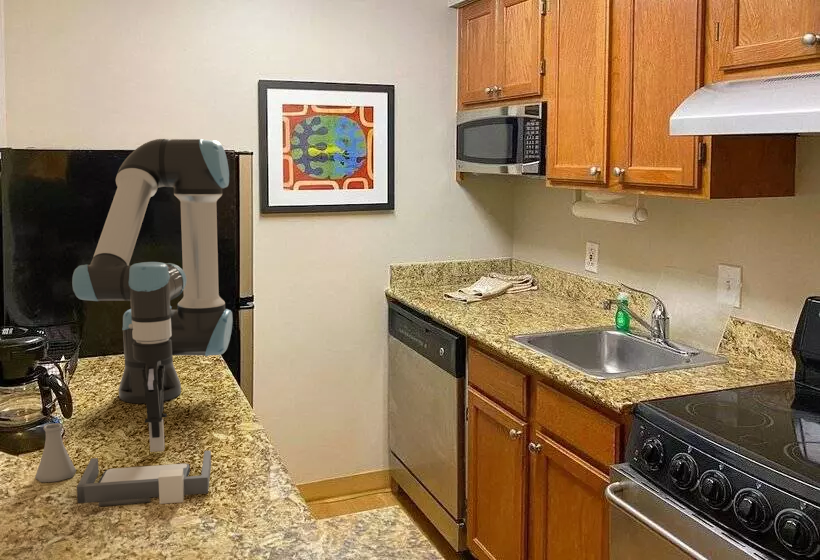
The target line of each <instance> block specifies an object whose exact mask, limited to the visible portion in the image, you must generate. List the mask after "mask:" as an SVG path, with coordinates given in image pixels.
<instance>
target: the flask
mask: <svg viewBox="0 0 820 560" xmlns="http://www.w3.org/2000/svg"><path fill="white" fill-rule="evenodd" d="M62 428H63V425H62V424H61V423H60V422H59V423H56V422H55V423H49V424H45V425H44V426H43V431H45V440H44V441H45V443H44V447H43V452H42V453H41V454H42V455H41V459H40V461H39V464H38V467H37V470H36V474H35V476H34V478H35V479H36V480H37V481H39V483H52V482H59V481H64V480H66V479H71V478H73V477H74V475H75V474H76V473H77V469H76V467H75V466H74V463H73V461H72V458H71V457H70V455H69V453H68V450H67V449H66V447H65V444H64V441H63V437H62V430H61V429H62Z"/></svg>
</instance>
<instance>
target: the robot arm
mask: <svg viewBox="0 0 820 560" xmlns="http://www.w3.org/2000/svg"><path fill="white" fill-rule="evenodd" d="M228 163H229V162H228V158H227V154H226V151H225V148H224V147H223V145H222V143H220V142H219V141H218V140H213V139H212V140H211V139H203V138H200V139H199V138H198V139H197V138H196V139H194V138H193V139H189V138H188V139H186V138H184V139H182V138H181V139H180V138H179V139H178V138H175V139H173V138H172V139H168V138H167V139H166V138H156V139H152V140H150V141H149V140H148V141H147V142H145V143H143V144H141V145H140V146H138V147H137V148H135V149H134V150H133V151H132V152H131V153H130V154H129V155H128V156H127V157H126V158H125V159H124V161H123V162H122V163H121V165H120V166H119V169H118V171H117V174H116V177H115V184H116V187H117V188H116V190H115V194H114V195H113V200H112V202H111V205H110V208H109V211H108V213H107V217H106V219H105V222H104V225H103V228H102V231H101V233H100V237H99V239H98V243H97V245H96V248H95V251H94V254H93V257H92V260H91V262H90V264H81V265H78V266H77V267H76V268H75V269H74V270H73V274H72V282H71V283H72V284H71V285H72V291H73V293H74V295H75V296H76V298H78V300H82V301H91V302H92V301H93V302H100V301H102V302H103V301H104V302H105V301H111V302H112V301H113V302H114V301H115V302H118V301H124V302H125V301H126V302H130V309H127V310H126V311H124V313H123V315H122V329H121V330H122V335H123V338H122V339H123V354H124V356H123V358H124V370H123V373H122V376H121V380H120V383H119V387H118V396H119V397H118V398H119V399H120V400H121V401H123V402H126V403H131V404H145V406H146V407H145V408H146V418H145V419H144V423H148V434H149V436H148V437H149V452H150V453H153V452H164V451H165V431H164V430H165V429H164V418H167V417H168V415H167V413H164V411H165V407H164V402H165V401H168V400H171V399H175V398H177V397H179V396H180V395H181V393H182V386H181V385H182V383H181V381H180V378H179V375H178V373H177V371H176V368H175V366H174V360H173V356H203V357H204V356H205V357H209V356H220V355H223V354H224V353H225V352H226V351H227V350H228V347H229V345H230V341H231V335H232V330H233V322H234V321H233V319H234V318H233V312H232V310H231V309H228V308H226V302H225V300H224V299H223V298H222V297H221V296H220V293H219V292H220V291H219V290H220V289H219V253H218V251H219V250H218V219H217V218H218V217H217V216H218V213H217V211H218V210H217V208H218V207H217V202H218V200H219V199H220V198H221V197H222V196H223V189H225V188H228V187H229V184H230V170H229V169H230V168H229V164H228ZM163 187H166V188H173V195H174V196H175V197H176V198H177V199H178V201H179V202H180V225H181V230H180V231H181V251H182V252H181V253H182V268H181V267H180V266H179V265H177V264H175V263H172V262H168V263H165V262H159V261H144V262H138V263H133V264H132V265H130V263H131V259H132V256H133V254H134V251H135V250H134V249H135V247H136V243H137V239H138V237H139V234H140V231H141V228H142V225H143V224H142V223H143V222H144V218H145V214H146V211H147V208H148V204H149V202H150V199H151V197H154V196H155V194H156V193H157V191H158V188H159V189H160V188H163ZM182 293H183V297H182V298H181V300H180V301H178V303H177V309H172V306H171V301H173V300H174V299H176V298H177V297H179V296H180V295H181V294H182Z"/></svg>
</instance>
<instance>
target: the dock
mask: <svg viewBox="0 0 820 560" xmlns="http://www.w3.org/2000/svg"><path fill="white" fill-rule="evenodd" d="M202 459H203V460H202V467H201V475H189V476H186V477H184V474H183V469H175V470H161V471H160V473H159V477H158V479H145V480H131V481H117V482H104V483H98V482H96V479H97V477H98V475H99V473H100V471H99V469H100V468H99V458H98V457H92V458H90V460H89V462H88V463H87V466H86V469H85V470H84V473H83V474H82V476H81V477H80V480H79V482H78V483H77V486H76V496H77V503H78V504H83V503H84V504H86V503H96V502H97V503H98V506H99V507H106V506H120V505H131V504H143V503H144V504H145V503H151V498H159V505H162V504H163V505H164V504H173V503H174V504H177V503H184V499H185V495H187V496H188V495H198V494H199V495H200V494H209V490H210V489H209V488H210V487H209V486H210V477H211V469H212V451H211V450H204V452H203V458H202Z"/></svg>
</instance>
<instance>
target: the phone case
mask: <svg viewBox="0 0 820 560" xmlns="http://www.w3.org/2000/svg"><path fill="white" fill-rule="evenodd" d="M190 466H191V464H189V463H186V462H185V463H171V464H170V463H169V464H158V465H155V464H154V465H144V466H142V465H141V466H130V467H129V466H128V467H127V466H126V467H117V468H115V467H114V468H109V469H105V470H104V472H103V473H102V475H101V477H100V479H99V481H98V482H97V483H104V482H117V481H131V480H145V479H158V477H159V473H160V471H161V470H175V469H183V474H184V477H186V476H188V475H189V476H190V473H191V472H190V471H191V467H190Z"/></svg>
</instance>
